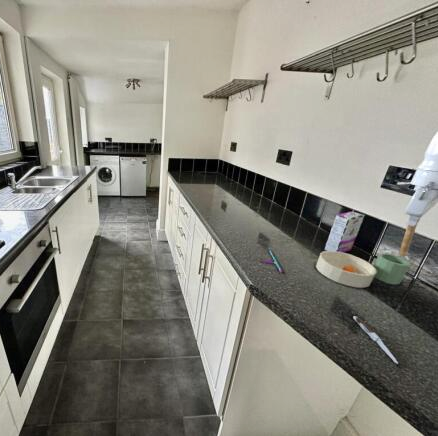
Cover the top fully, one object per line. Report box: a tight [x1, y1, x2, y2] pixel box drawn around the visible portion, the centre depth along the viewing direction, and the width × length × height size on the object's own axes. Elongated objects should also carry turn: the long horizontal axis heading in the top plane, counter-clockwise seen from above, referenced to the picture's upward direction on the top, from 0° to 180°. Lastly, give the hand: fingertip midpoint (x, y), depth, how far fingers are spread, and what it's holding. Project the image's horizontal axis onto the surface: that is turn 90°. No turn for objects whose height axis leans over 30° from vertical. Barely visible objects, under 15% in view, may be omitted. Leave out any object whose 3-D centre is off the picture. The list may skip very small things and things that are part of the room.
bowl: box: [315, 250, 377, 288], centre depth 80 cm, size 15×15×6 cm
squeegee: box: [262, 250, 283, 274], centre depth 88 cm, size 15×1×5 cm
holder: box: [372, 252, 412, 285], centre depth 79 cm, size 8×8×8 cm
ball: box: [342, 266, 355, 273], centre depth 80 cm, size 3×3×3 cm
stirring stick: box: [398, 222, 419, 257], centre depth 73 cm, size 2×2×18 cm
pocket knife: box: [352, 315, 399, 365], centre depth 56 cm, size 14×1×2 cm, turn 173°
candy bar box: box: [324, 211, 366, 253], centre depth 95 cm, size 11×5×16 cm, turn 114°
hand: (412, 224), depth 73 cm, fingers closed on stirring stick, 2 cm apart
